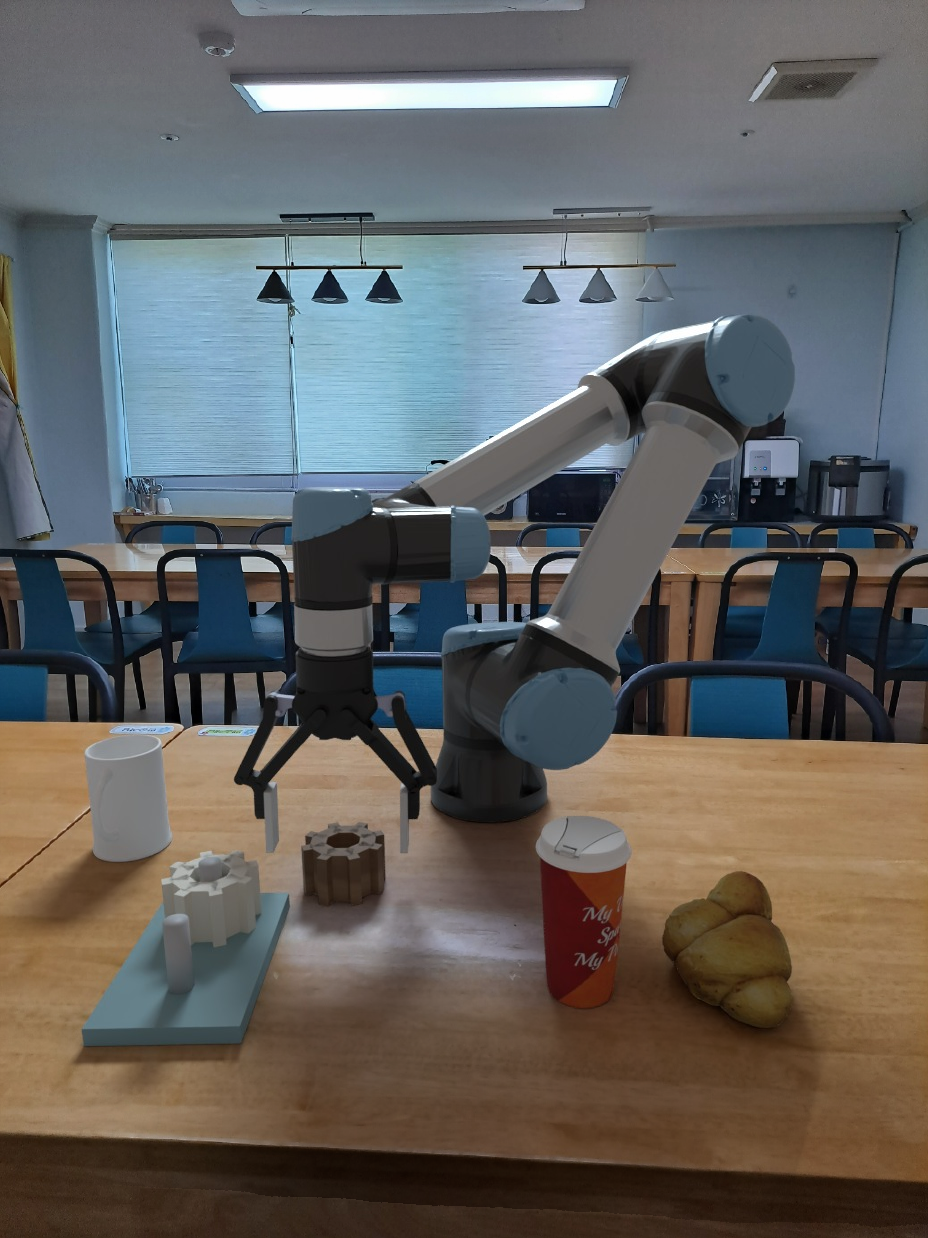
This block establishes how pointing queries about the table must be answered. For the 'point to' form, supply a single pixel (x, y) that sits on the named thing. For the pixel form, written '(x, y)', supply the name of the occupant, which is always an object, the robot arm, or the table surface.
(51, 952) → the table surface
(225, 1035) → the gear board
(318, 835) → the walnut gear
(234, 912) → the cream gear
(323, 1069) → the table surface
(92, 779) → the mug
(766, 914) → the bread roll
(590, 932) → the paper cup
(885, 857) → the table surface
